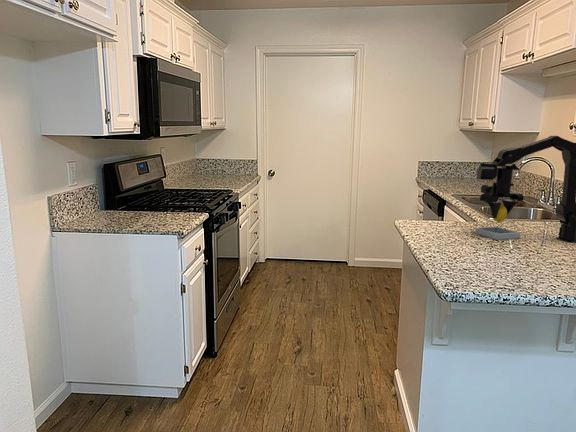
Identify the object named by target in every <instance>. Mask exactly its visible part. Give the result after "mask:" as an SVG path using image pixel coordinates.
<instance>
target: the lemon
mask: <svg viewBox="0 0 576 432" xmlns="http://www.w3.org/2000/svg"><path fill="white" fill-rule="evenodd" d="M507 217H508V215H507V209H506V207H505V206H504V204H502V203H501V205H500V208H499V211H498V214H497V216H496V218H493V217H492V219H493V220H494V221H496V222H497V223H498V224H500V223H501V222H504V221H505V220H506V219H507Z"/></svg>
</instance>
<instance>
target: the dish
mask: <svg viewBox="0 0 576 432" xmlns="http://www.w3.org/2000/svg"><path fill="white" fill-rule="evenodd" d="M474 234H475V235H477V236H481V237H485V238H488V239H491V240H494V241H508V240H509V241H510V240H519V239H520V236H521V235H520V234H521V232H518V231H516V230H515V231H514V230H511V229H508V228H507V229H506V228H503V227H499V226H486V227H475V230H474Z"/></svg>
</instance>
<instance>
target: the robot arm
mask: <svg viewBox="0 0 576 432" xmlns="http://www.w3.org/2000/svg"><path fill="white" fill-rule="evenodd" d="M552 147H553V148H554V149H555V150H558V151H559V152H561V157H562V161H563V163H564V174H563V184H562V185H563V186H562V197H561V201H559V203H555V211H554V214H556V218H557V219H558V220H559V224H561V225H560V227H559V231H558V237H556V239H557V240H561V241H564V242H568V243H576V142H573V141H571V140H568V139H565V138H562V137H560V136H559V135H550V136H549V135H548V137H546V138H542V139H539V140H537V141H533V142H531V143H528V144H527V143H526V144H525V145H522V146H519V147H518V146H517V147H510V148H505V149H501V150H500V151H498V153H497V156H496V158H494V160H493V161H492V162H491V163H485V162H479V165H478V168H477V171H476V178H477V180H483V181H484V180H486V181H487V180H488V181H493V180H494V179H496V181H494V182H493V183H492V185H491V186H490V185H488V184H483V185H481V188H480V192H481V194H480V195H479V201H482V202H485V203H487V204H488V206H489V208H490V212H491V217H492V219H493V218H496V216H497V214H498V211H499V208H500V205H501V204H502V203H503V204H502V205H503V206H505V207H506V209H507V216H508V215H509V214H510V213H511V211H512V210H513V208H514V207H515V206H516V204H518V203H519V202H523V201H524V197H525V196H524V194H523V193H519V192H518V193H517V192H511V190H512V187H514V182H513V173H514V171H519V170H520V168H519V167H518V166H517V164H516V162H518V161H520V160H521V159H523V158H525V157H526V156H529V155H532V154H536V153H538V152H541V151H543V150H546V149H549V148H552ZM512 182H513V183H512ZM499 201H501V202H499Z"/></svg>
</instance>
